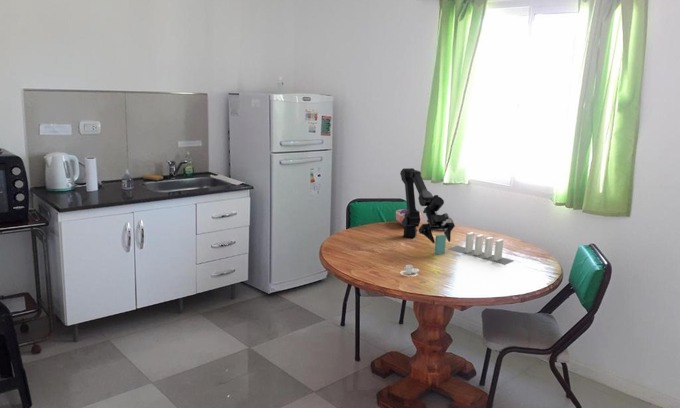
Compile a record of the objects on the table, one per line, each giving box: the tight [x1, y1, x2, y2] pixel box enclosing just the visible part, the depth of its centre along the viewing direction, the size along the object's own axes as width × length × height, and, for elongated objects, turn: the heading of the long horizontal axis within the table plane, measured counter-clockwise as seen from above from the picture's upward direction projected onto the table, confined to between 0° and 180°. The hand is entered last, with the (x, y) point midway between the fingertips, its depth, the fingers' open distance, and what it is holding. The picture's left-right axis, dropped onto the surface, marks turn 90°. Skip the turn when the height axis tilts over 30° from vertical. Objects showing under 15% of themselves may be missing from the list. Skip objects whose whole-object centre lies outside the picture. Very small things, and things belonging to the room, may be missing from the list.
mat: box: [447, 245, 515, 266], centre depth 269 cm, size 33×10×1 cm, turn 46°
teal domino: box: [434, 234, 447, 255], centre depth 269 cm, size 2×5×10 cm, turn 111°
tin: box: [427, 217, 454, 232], centre depth 316 cm, size 15×3×8 cm, turn 84°
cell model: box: [395, 207, 424, 225], centre depth 323 cm, size 17×20×11 cm
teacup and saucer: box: [399, 264, 420, 277], centre depth 239 cm, size 9×8×4 cm
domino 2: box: [474, 234, 485, 255], centre depth 269 cm, size 2×5×10 cm, turn 136°
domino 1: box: [464, 231, 475, 253], centre depth 272 cm, size 2×5×10 cm, turn 136°
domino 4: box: [493, 238, 504, 261], centre depth 261 cm, size 2×5×10 cm, turn 136°
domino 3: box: [483, 236, 494, 258], centre depth 265 cm, size 2×5×10 cm, turn 135°
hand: (441, 242), depth 267 cm, fingers open, 9 cm apart
